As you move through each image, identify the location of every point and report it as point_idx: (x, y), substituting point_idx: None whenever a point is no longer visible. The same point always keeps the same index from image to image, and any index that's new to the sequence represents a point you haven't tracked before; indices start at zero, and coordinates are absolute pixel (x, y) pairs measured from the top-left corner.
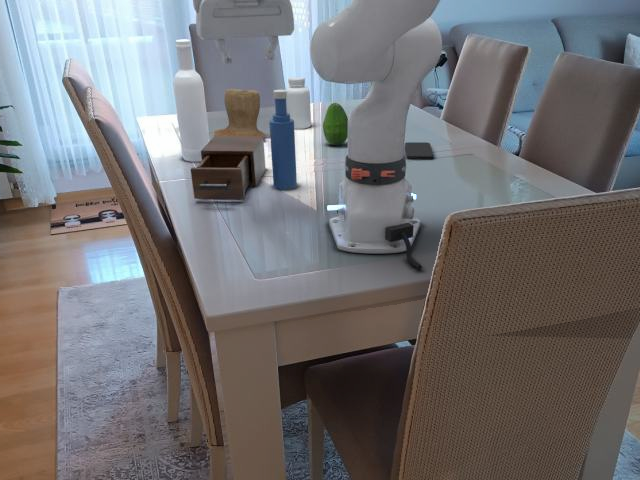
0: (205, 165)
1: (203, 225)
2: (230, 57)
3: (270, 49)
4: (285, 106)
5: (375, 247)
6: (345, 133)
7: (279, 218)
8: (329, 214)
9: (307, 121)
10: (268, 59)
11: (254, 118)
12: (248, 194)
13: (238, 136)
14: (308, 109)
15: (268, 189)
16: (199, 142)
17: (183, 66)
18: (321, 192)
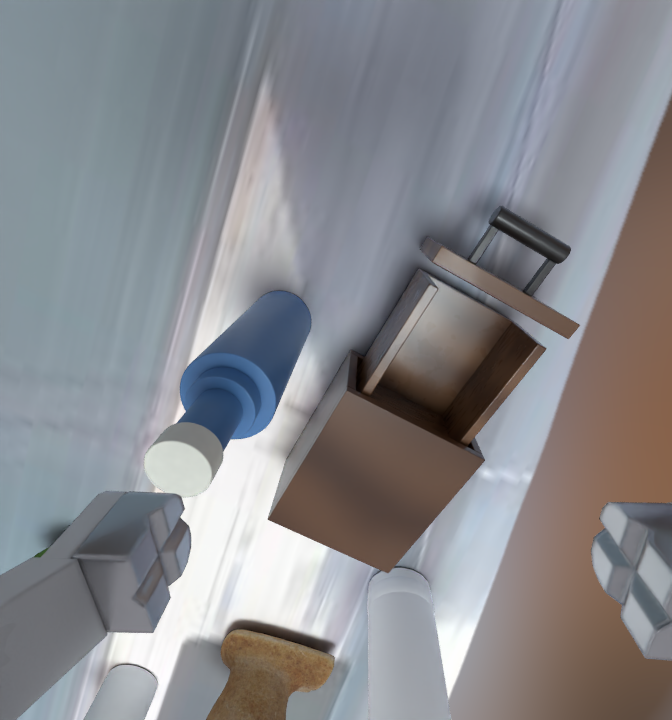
0: (493, 388)
1: (604, 92)
2: (660, 540)
3: (71, 603)
4: (188, 409)
5: None
6: (43, 552)
7: (388, 48)
8: (241, 11)
9: (111, 679)
10: (167, 494)
11: (230, 689)
12: (389, 300)
13: (332, 543)
14: (91, 709)
15: (328, 316)
16: (402, 606)
17: None
18: (207, 228)
